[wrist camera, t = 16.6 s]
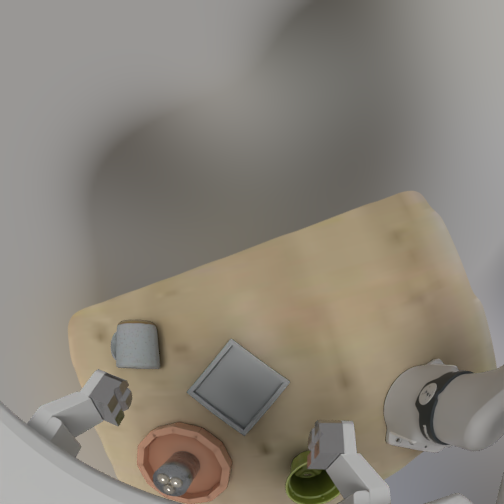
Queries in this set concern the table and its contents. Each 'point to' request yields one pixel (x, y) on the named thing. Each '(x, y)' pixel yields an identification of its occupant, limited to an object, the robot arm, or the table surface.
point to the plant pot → (309, 483)
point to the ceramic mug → (136, 345)
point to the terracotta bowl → (197, 443)
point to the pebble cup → (176, 473)
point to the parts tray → (238, 387)
